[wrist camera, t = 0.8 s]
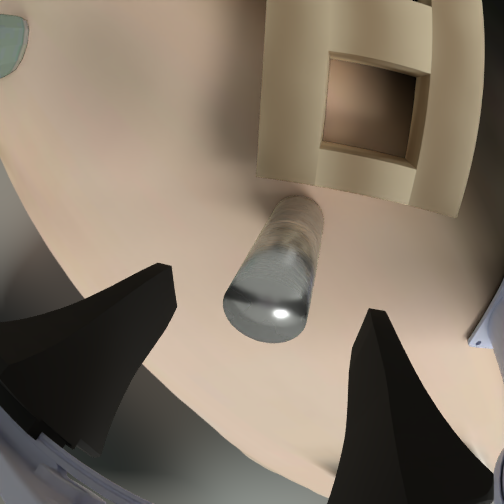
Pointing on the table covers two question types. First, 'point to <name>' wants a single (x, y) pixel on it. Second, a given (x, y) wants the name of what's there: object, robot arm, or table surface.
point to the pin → (278, 274)
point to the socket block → (386, 57)
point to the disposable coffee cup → (12, 42)
